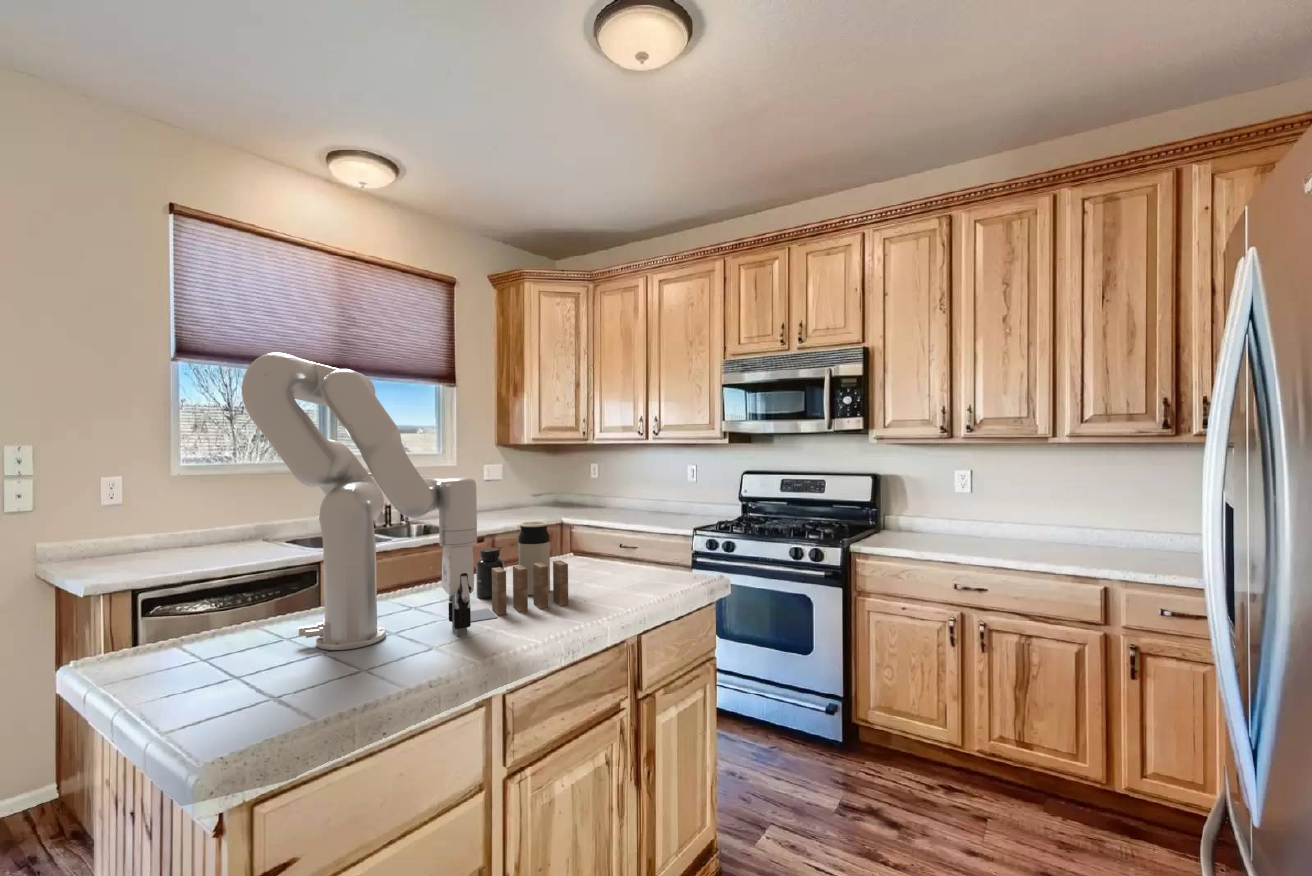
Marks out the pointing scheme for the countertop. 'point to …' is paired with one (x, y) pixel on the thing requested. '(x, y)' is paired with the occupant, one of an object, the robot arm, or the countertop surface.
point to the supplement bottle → (487, 571)
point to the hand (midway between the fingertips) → (459, 623)
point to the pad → (482, 615)
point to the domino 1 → (457, 631)
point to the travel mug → (534, 548)
